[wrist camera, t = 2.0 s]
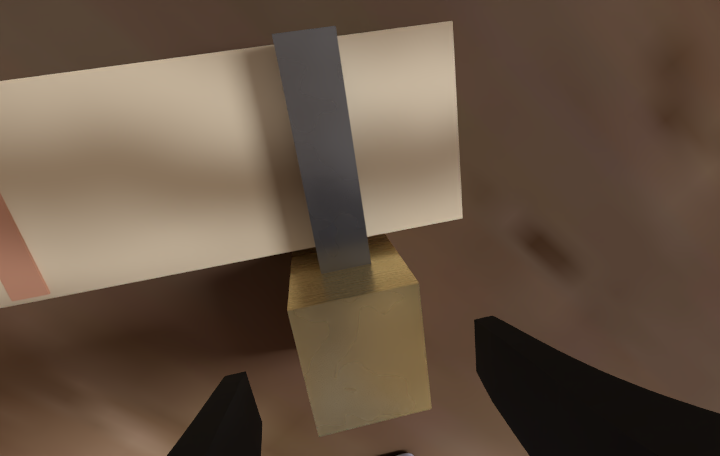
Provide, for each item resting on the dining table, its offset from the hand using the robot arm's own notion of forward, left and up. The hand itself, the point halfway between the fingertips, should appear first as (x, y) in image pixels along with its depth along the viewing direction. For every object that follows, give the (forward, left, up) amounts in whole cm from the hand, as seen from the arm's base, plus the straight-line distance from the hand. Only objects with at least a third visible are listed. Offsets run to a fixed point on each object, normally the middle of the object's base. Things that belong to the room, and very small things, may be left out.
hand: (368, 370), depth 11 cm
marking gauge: (+4, 0, -5) cm, 7 cm away
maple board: (+6, +9, -5) cm, 12 cm away
